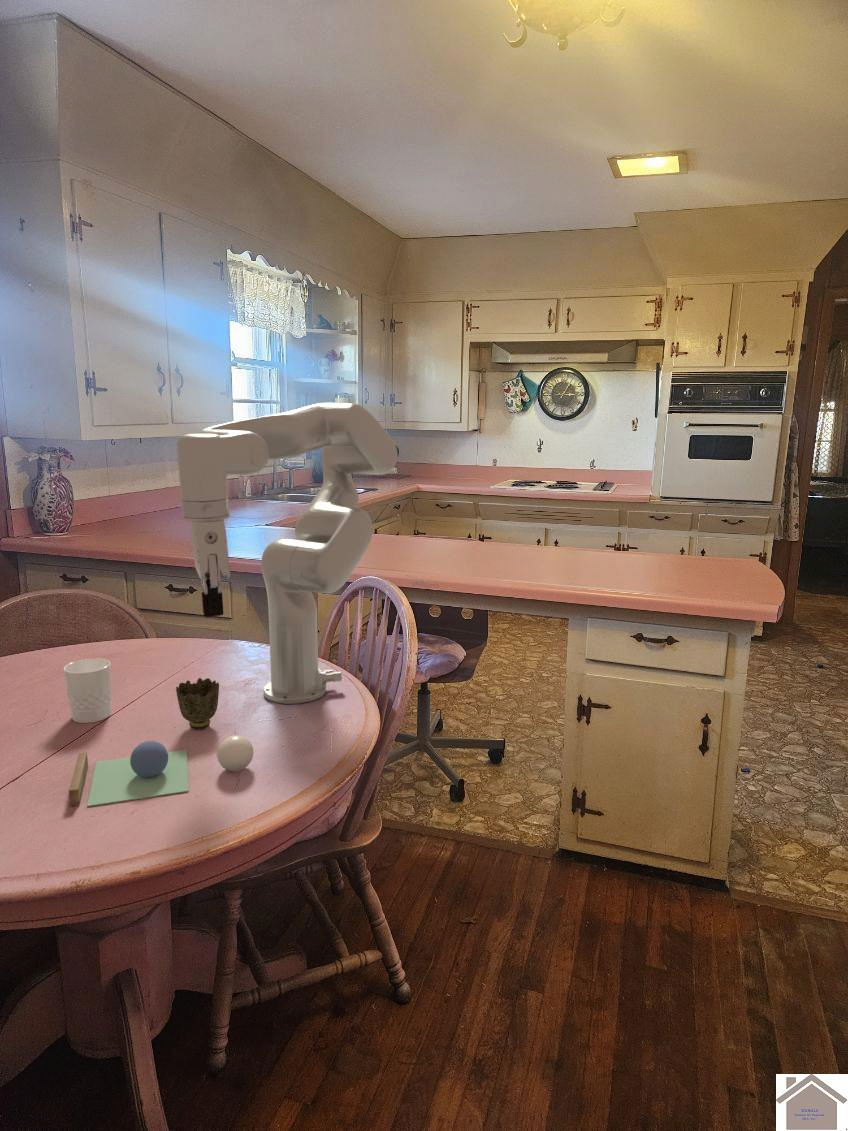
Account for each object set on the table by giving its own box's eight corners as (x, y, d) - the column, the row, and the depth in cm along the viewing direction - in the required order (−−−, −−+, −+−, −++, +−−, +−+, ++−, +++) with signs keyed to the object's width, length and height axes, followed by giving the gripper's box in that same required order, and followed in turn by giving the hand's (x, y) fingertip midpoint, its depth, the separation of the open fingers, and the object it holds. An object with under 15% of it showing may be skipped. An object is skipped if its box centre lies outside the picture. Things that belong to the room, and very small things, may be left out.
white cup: (97, 726, 131) (92, 674, 129) (58, 722, 132) (53, 671, 130) (123, 709, 138) (119, 660, 136) (86, 705, 140) (82, 656, 138)
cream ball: (215, 731, 114) (209, 756, 117) (227, 757, 111) (221, 782, 113) (249, 725, 118) (242, 749, 120) (261, 750, 114) (254, 774, 117)
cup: (182, 739, 126) (179, 696, 125) (175, 722, 133) (172, 681, 131) (225, 730, 130) (223, 689, 128) (216, 715, 136) (214, 675, 134)
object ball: (135, 732, 114) (127, 765, 115) (134, 748, 109) (125, 782, 110) (171, 737, 117) (163, 769, 117) (172, 752, 111) (163, 786, 112)
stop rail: (88, 766, 116) (86, 752, 116) (79, 804, 105) (78, 789, 105) (80, 767, 116) (78, 753, 115) (70, 806, 105) (68, 790, 104)
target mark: (186, 750, 122) (186, 749, 122) (188, 791, 109) (188, 790, 109) (96, 762, 118) (96, 761, 118) (87, 807, 105) (87, 805, 105)
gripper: (235, 514, 115) (242, 624, 119) (222, 501, 128) (229, 601, 132) (186, 518, 112) (195, 630, 116) (178, 504, 125) (186, 605, 130)
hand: (213, 614), depth 124 cm, fingers closed
